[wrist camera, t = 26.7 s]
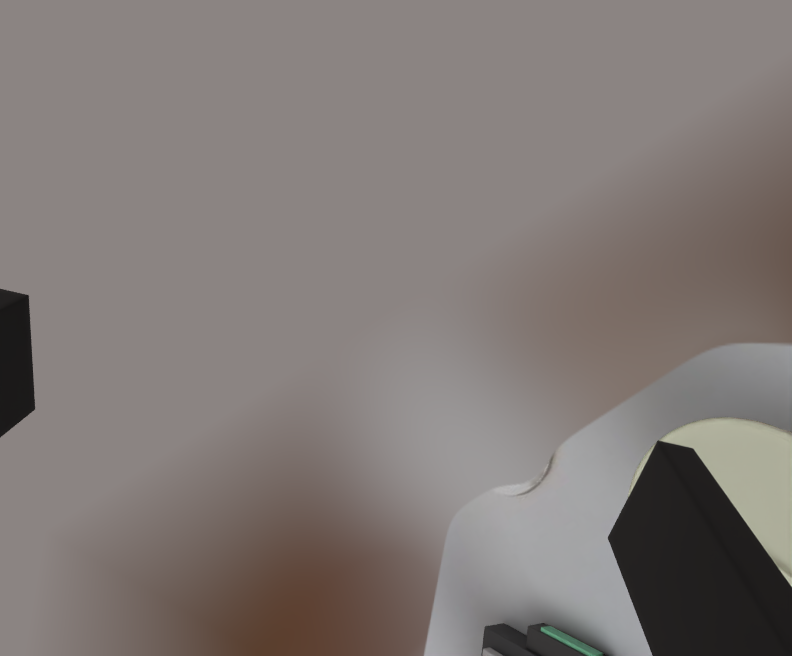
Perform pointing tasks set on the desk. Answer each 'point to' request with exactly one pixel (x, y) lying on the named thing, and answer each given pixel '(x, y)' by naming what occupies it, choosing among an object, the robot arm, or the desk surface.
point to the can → (747, 475)
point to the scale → (532, 642)
